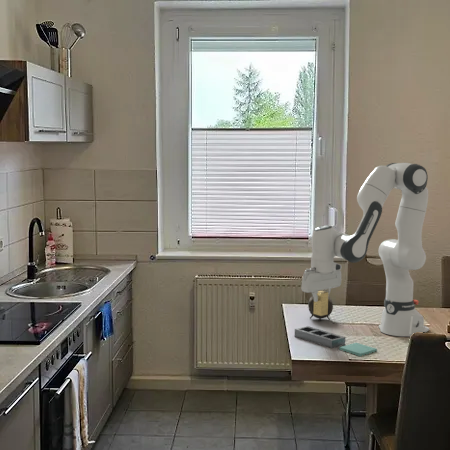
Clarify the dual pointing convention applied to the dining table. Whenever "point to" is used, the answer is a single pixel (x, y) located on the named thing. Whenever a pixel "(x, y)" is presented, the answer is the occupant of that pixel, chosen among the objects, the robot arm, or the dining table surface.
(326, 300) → the brass peg
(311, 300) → the alarm clock
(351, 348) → the teal board
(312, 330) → the grey peg holder tray
